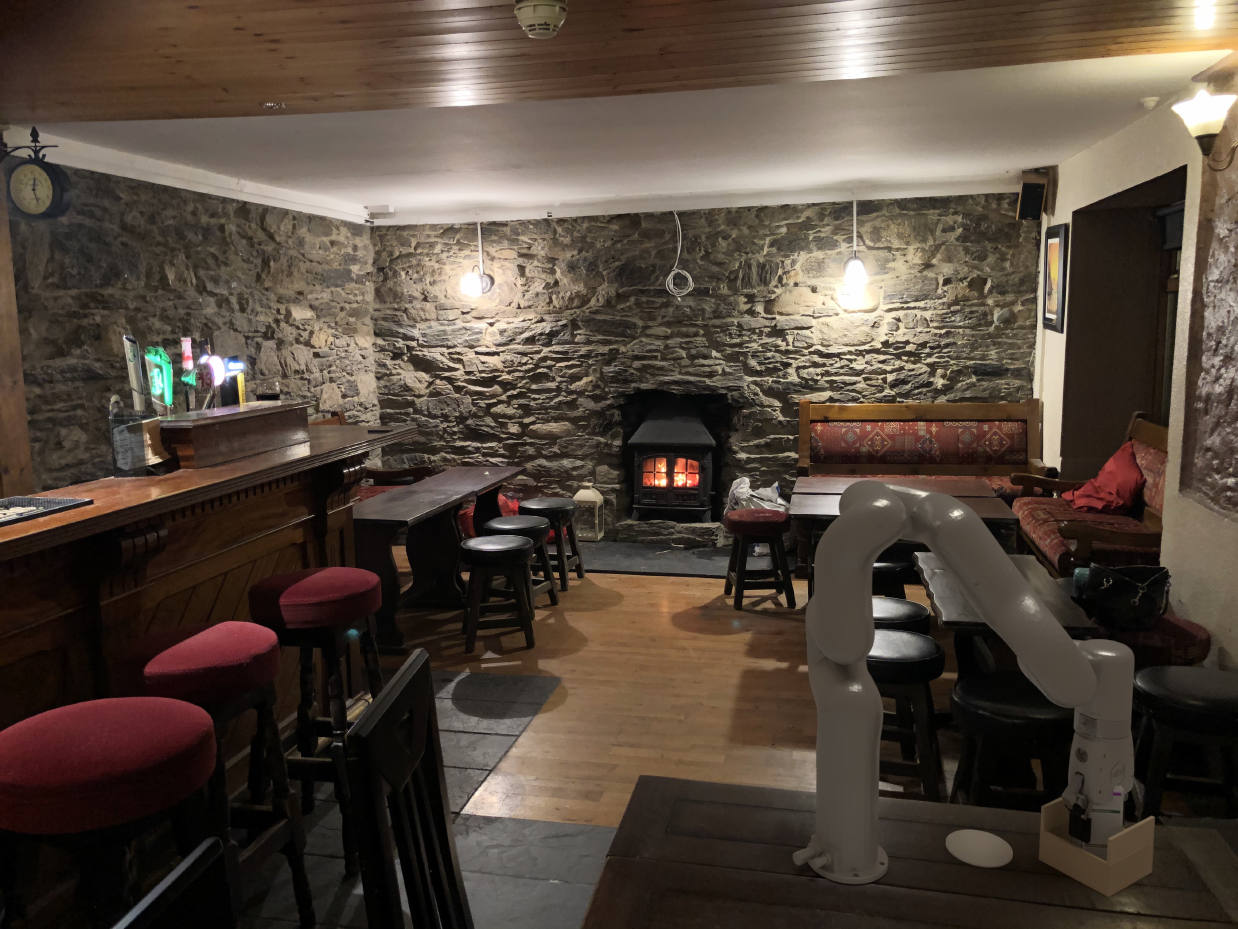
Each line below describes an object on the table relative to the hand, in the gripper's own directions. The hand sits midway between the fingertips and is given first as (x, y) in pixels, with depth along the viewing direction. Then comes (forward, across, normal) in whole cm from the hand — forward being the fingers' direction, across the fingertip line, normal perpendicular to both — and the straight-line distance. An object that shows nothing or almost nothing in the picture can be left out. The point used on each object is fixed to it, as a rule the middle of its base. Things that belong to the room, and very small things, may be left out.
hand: (1096, 829), depth 136 cm
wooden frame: (+6, 0, 0) cm, 6 cm away
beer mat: (+6, -11, +12) cm, 18 cm away
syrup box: (+6, 0, 0) cm, 6 cm away
